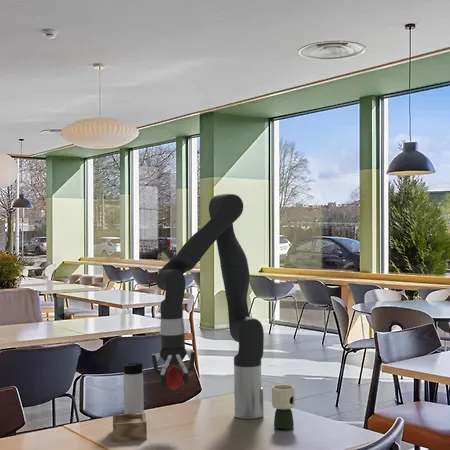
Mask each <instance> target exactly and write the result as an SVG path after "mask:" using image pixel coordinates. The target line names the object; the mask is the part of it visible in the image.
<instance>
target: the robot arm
mask: <svg viewBox="0 0 450 450" xmlns="http://www.w3.org/2000/svg"><path fill="white" fill-rule="evenodd" d="M243 211H244V202H243V199H242V198H241V197H240V196H239V195H237V194H236V193H221V194H216V195H214V196H213V197H212V198H211V199H210V201H209V204H208V213H209V217H210V219H209V220H208V221H207V223H206V224H204V225H203V227H201V228H200V229H199V230H198V231H196V232H195V233H194V234H193V235H192V236H191V237H189V238H188V240H186V242H185V243H184V244H183V245H182V247H181V248H180V249H179V251H178V252H177V253H176V255H175V256H173V257H172V258H171V259H170V260H169V261H168V262H167V263H166V264H164V266H162V267H161V268H160V269H159V271H158V273H157V275H156V277H155V284H156V286H157V287H158V289H159V290H162V291H165V295H164V299H162V300H161V302H160V306H159V307H160V322H159V323H160V324H159V325H160V326H159V327H160V329H159V332H160V352H158V353H152V354H151V361H152V366H153V372H154V373H155V375H156V374H157V375H159V377H160V385H161V386H162V387H163V388H165V387H167V386H166V385H167V383H166V382H165V375H166V374H165V373H166V370H167V369H168V366H172V365H174V366H178V365H179V366H180V367H181V369H182V370H183V372H182V373H183V377H184V380H183V383H182V384H183V386H187V384H188V383H189V372H193V371H194V367H195V361H196V359H195V358H196V352H195V351H194V350H189V351H188V350H186V343H185V342H186V340H185V339H186V338H185V337H186V336H185V322H184V311H183V308H184V307H183V303H184V299H185V298H184V297H185V292H186V277H185V275H184V274H185V273H187V272H189V271H192V270H193V269H194V268H195V267H196V266H197V264H198V263H199V262H200V260H201V259H202V258H203V256H204V255H205V254H206V253H207V251H208V250H209V249H210V248H211V246H212V245H213V244H214V243H215V242H216V246H217V253H218V258H219V264H220V270H221V275H222V276H221V277H222V282H223V285H224V292H225V299H226V304H227V313H228V316H227V317H228V326H229V327H228V329H229V334H230V336H231V338H232V339H233V340H234V342H236V343H238V352H237V354H235V355H234V357H233V380H234V381H233V385H234V386H233V388H234V389H233V390H234V391H233V392H234V394H233V395H234V417H235V418H237V419H243V420H255V419H258V418H259V419H260V418H264V417H265V416H264V415H265V414H264V413H265V412H264V411H265V409H264V407H265V406H264V388H263V387H262V359H263V356H264V345H265V343H264V342H265V341H264V338H265V335H264V327H263V325H262V322H261V321H260V320H258V318H257V319H256V318H255V317H251V314H250V311H249V310H250V309H249V306H248V291H249V288H250V287H249V286H250V280H251V279H250V278H251V277H250V274H251V273H250V268H249V263H248V259H247V255H246V253H245V250H244V249H243V247H242V246H241V244H240V242H239V240H238V238H237V236H236V233H235V230H234V223H235V222H236V221H237V220H238V219H239V218H240V216H242V214H243ZM186 356H187V357H188V359H189V364H188V366H187V367H186V364H185V363H184V360H185V358H186ZM160 358H161V359H162V360H163V362H162V365H161V368H159V367H158V361H159V359H160Z"/></svg>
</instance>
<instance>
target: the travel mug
mask: <svg viewBox="0 0 450 450" xmlns="http://www.w3.org/2000/svg"><path fill="white" fill-rule="evenodd" d="M143 367H144V366H143V362H131V363H128V364H123V412H124V413H123V414H136V413H145V412H144V409H145V408H144V375H143V374H144V371H143V369H144V368H143Z"/></svg>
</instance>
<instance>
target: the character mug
mask: <svg viewBox="0 0 450 450" xmlns="http://www.w3.org/2000/svg"><path fill="white" fill-rule="evenodd" d="M295 397H296V396H295V386H294V385H292V384H291V385H290V384H274V385H272V386H271V405H272V408H274V409H276V410H275V411H274V419H273V420H274V421H273V427H274V428H277V429H282V430H291V429H293V428H294V427H295V425H294V417H293V411H292V409H294V408H295V406H296V405H295V404H296V403H295V402H296V399H295Z"/></svg>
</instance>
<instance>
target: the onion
mask: <svg viewBox="0 0 450 450" xmlns="http://www.w3.org/2000/svg"><path fill="white" fill-rule="evenodd" d="M165 373H166V374H165V384H166V385H167V386H168V387H169V388H170V389H171V390H172V391H176V390H177V389H179V388H180V387H181V385H182V384H183V380H184V377H183V372H182V371H181V370H180V369H179V368H178V367H177V366H176V365H175V364H173V365H171V367H170V368H169V369H168V370H167V372H165Z"/></svg>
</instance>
